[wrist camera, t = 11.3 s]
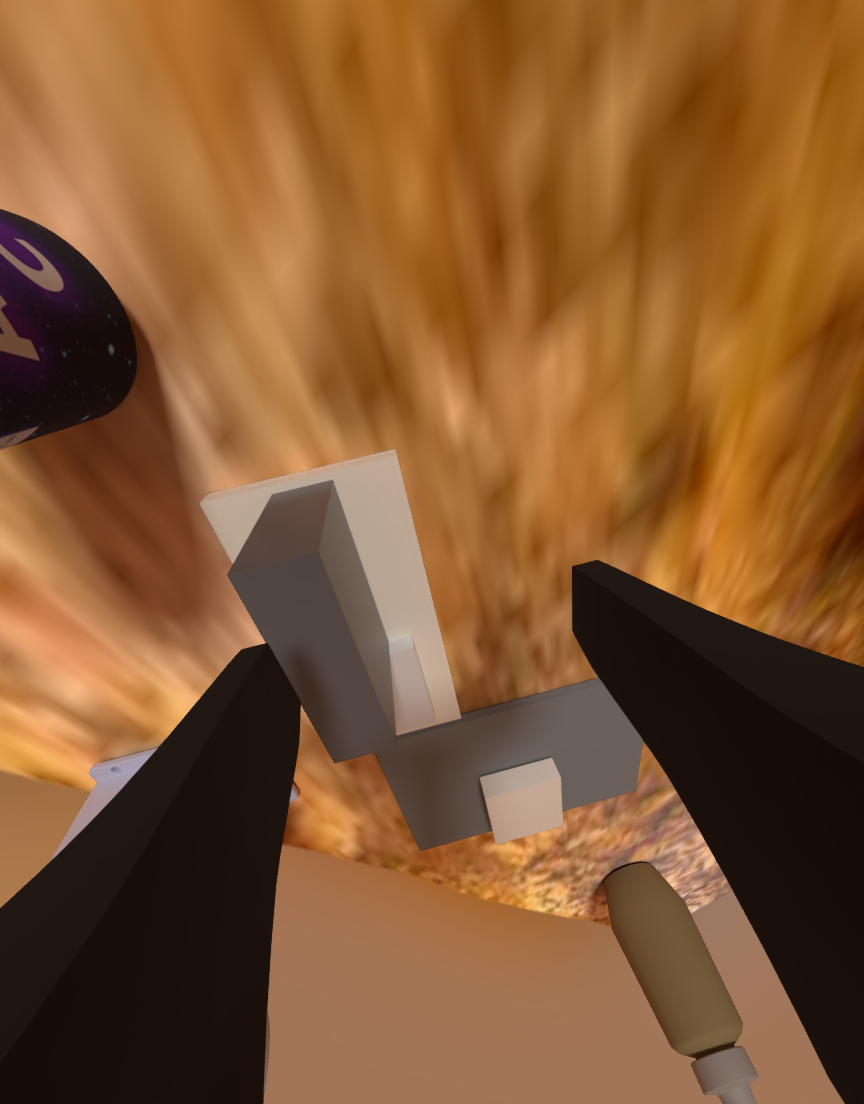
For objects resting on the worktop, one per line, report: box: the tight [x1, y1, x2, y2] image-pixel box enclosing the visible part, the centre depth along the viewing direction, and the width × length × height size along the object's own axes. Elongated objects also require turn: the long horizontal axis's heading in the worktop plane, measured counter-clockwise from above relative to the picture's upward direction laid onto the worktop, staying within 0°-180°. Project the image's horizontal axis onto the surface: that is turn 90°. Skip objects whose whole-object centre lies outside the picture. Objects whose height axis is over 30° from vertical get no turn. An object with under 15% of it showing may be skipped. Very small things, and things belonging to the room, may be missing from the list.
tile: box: [479, 758, 563, 844], centre depth 30 cm, size 6×2×7 cm
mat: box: [375, 678, 643, 851], centre depth 29 cm, size 19×15×1 cm
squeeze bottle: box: [604, 863, 759, 1104], centre depth 36 cm, size 8×8×18 cm
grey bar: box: [227, 480, 436, 763], centre depth 17 cm, size 5×15×6 cm, turn 11°
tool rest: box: [199, 449, 461, 735], centre depth 20 cm, size 8×17×1 cm, turn 11°
